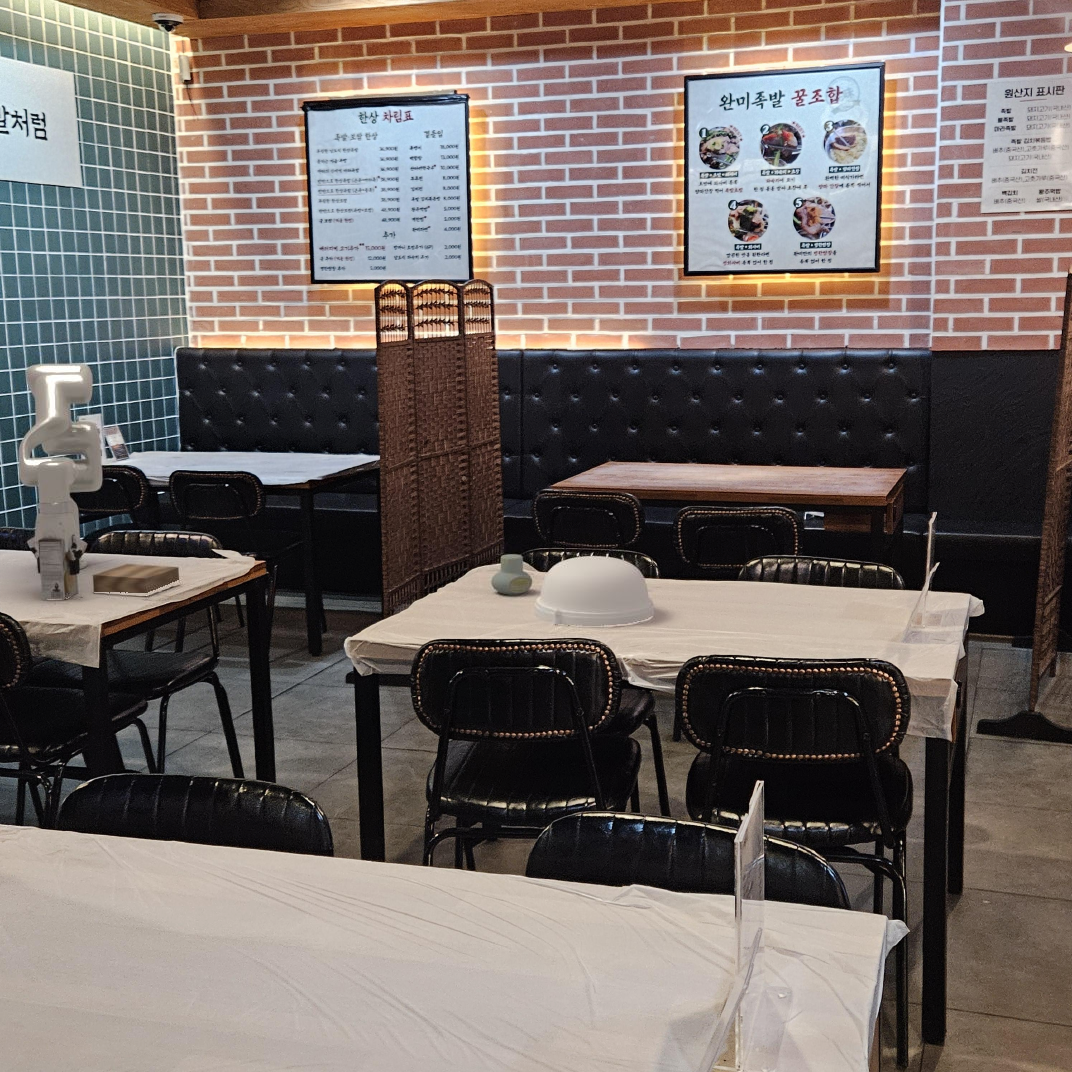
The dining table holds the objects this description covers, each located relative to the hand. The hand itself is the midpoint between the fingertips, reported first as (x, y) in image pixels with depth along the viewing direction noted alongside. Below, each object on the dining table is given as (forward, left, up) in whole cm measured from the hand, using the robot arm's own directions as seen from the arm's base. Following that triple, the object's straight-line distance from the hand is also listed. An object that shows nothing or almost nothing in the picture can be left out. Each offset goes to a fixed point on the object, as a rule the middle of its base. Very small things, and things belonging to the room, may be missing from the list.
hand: (58, 573), depth 346 cm
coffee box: (0, 0, -7) cm, 7 cm away
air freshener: (+112, +39, -7) cm, 119 cm away
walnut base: (+14, +14, -6) cm, 21 cm away
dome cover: (+139, +22, -7) cm, 141 cm away
